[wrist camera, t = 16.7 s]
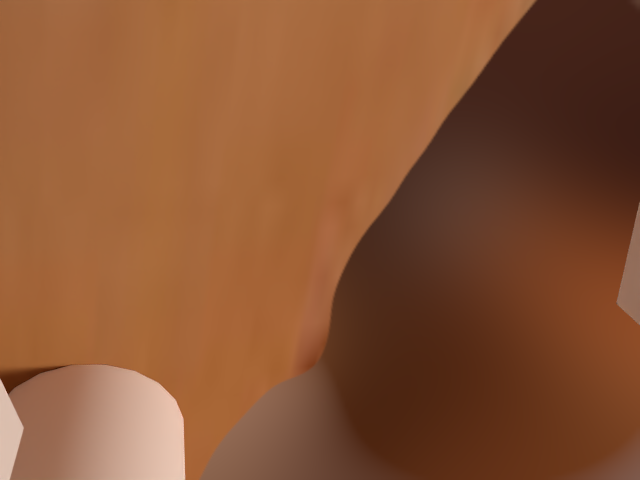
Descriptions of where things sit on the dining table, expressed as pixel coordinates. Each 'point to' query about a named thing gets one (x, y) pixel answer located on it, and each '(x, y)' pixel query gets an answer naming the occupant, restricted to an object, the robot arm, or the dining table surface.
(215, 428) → the dining table surface
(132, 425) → the canister
